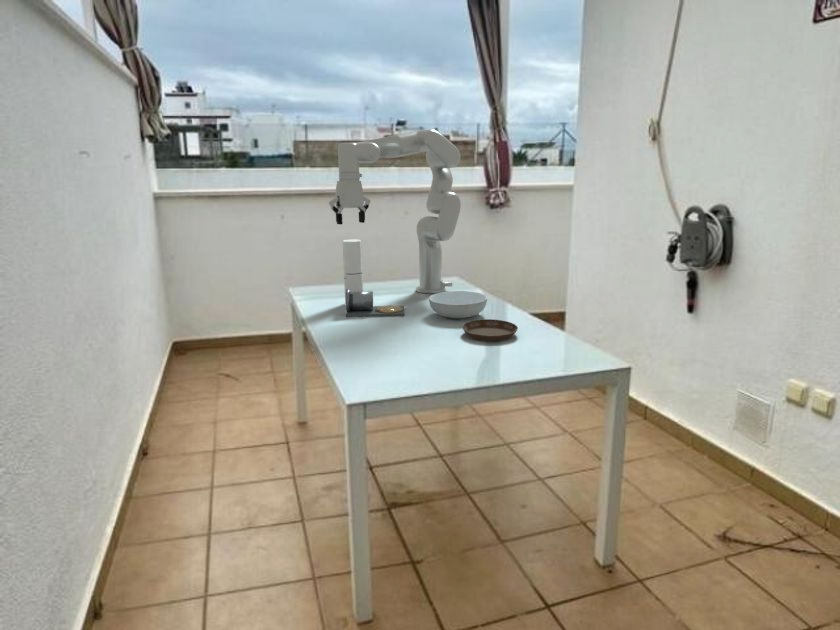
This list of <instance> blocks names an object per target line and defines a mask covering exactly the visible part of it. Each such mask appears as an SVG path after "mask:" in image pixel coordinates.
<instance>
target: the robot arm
mask: <svg viewBox="0 0 840 630" xmlns="http://www.w3.org/2000/svg"><path fill="white" fill-rule="evenodd" d="M419 153H425V160H426V163H427V164H428V167H429V168H430V170H431V173H432V175H431V176H432V179H431V186H430V190H429V193H428V196H427V201H426V203H425V204H426V209H427V211H428V212H429V213H431V214H435V215H438V216H430V215H429V216H428V215H427V216H426V215H425V216H423V217H421V218H420V219H419V221H418V222H417V224H416V234H417V239H418V247H419V248H418V252H419V253H418V258H419V259H418V260H419V261H418V263H419V264H418V265H419V267H418V269H419V273H418V274H419V278H418V280H419V286H417V287H416V288H415V291H416V292H418V293H422V294H436V293H441V292H446V287H453V282H452V281H444V280H443V277H442V274H443V273H442V272H443V269H442V265H443V264H442V259H443V257H442V255H443V254H442V253H443V252H442V244H441V242H448V241H449V240H450V239H451V238H452V237H453V235H454V234H455V233H454V232H455V230H456V226H457V224H458V223H457V222H458V221H459V216H460V212H461V208H462V207H461V205H462V203H461V199H460V196H459V195H458V194H457V193H455V192H452V186H453V180H454V178H453V173H452V171H451V169H452V168H455V167H457V166H458V165H460V164H459V163H460V162H461V159H462V158H461V156H462V155H461V153H460V150H459V148H457V146H455V144H453V143H452V142H451V141H450V140H449V139H448V138H447V137H445V136H444V135H443V134H441V133H440V132H439V131H437V130H436V129H421V130H420V129H418V130H413V131H408V132H403V133H396V134H393V135H388V136H384V137H380V138H374V139H370V140H364V141H357V142H340V143H338V146H337V158H338V159H337V160H338V180H337V181H336V186H335V197H334V198H333V199H331V200H329V202H328V205H329V206H330V209H331V210H332V211H333V213H334V214H335V222H336V224H337V225H343V213H342V211H343V210H344V209H353V208H356V209H357V210H359V211H358V222H359V223H362V224H364V223H365V222H366V221H365V220H366V212H367V210H368V209H369V206H370V203H371V199H369V198H367V197H366V196H364V190H363V189H364V188H363V184H362V181H361V180H360V178H362V177H363V174H362V173H360V164H372V163H375V162H377V161H378V160H379V159H395V158H401V157H407V156H410V155H411V156H412V155H415V154H419Z"/></svg>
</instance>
